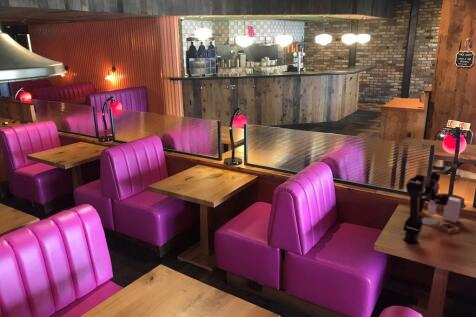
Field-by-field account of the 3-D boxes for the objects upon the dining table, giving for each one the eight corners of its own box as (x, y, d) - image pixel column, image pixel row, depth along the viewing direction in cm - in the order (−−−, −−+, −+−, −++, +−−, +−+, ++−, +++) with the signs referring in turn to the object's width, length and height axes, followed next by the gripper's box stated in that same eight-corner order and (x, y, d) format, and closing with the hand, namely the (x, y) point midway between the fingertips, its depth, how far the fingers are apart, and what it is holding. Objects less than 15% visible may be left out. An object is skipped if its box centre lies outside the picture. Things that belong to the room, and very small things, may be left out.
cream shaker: (433, 215, 251) (435, 199, 248) (426, 213, 254) (428, 197, 251) (436, 213, 254) (438, 198, 251) (429, 211, 257) (431, 196, 254)
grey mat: (434, 227, 249) (434, 226, 248) (419, 222, 254) (419, 222, 254) (439, 221, 257) (439, 220, 256) (424, 217, 262) (424, 216, 262)
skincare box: (458, 220, 259) (462, 199, 254) (455, 223, 255) (459, 201, 250) (444, 216, 264) (448, 195, 260) (441, 219, 260) (445, 198, 256)
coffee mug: (409, 206, 279) (411, 193, 276) (422, 208, 277) (424, 194, 275) (412, 213, 268) (414, 199, 265) (426, 214, 266) (428, 201, 264)
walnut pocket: (448, 233, 241) (448, 230, 240) (437, 227, 248) (438, 224, 247) (458, 231, 243) (459, 228, 242) (447, 226, 250) (448, 222, 250)
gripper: (451, 183, 238) (453, 196, 249) (419, 176, 250) (422, 188, 261) (445, 199, 235) (447, 211, 246) (413, 191, 246) (416, 203, 258)
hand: (433, 202), depth 253 cm, fingers closed on cream shaker, 4 cm apart
